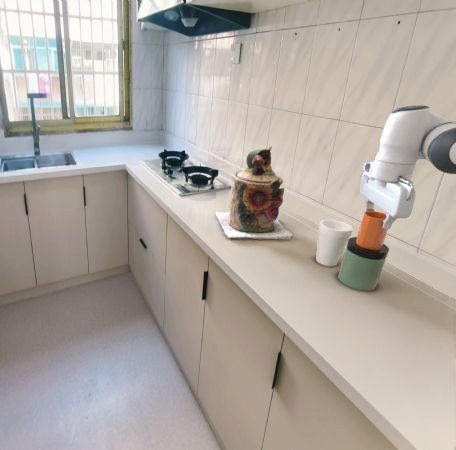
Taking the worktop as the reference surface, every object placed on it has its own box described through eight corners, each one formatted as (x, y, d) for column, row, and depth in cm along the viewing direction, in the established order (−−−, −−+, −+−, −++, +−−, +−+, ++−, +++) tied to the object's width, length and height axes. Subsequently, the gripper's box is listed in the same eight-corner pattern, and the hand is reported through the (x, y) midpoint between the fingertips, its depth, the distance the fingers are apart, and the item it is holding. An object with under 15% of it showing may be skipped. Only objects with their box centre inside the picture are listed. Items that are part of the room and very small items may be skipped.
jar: (366, 273, 105) (377, 240, 100) (382, 292, 96) (395, 256, 91) (332, 270, 106) (342, 237, 101) (345, 289, 96) (356, 253, 92)
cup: (374, 240, 98) (384, 211, 95) (385, 250, 92) (396, 220, 89) (351, 238, 99) (360, 210, 95) (361, 248, 93) (371, 218, 89)
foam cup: (313, 251, 117) (321, 217, 112) (342, 259, 113) (353, 223, 107) (309, 263, 109) (318, 226, 104) (340, 271, 105) (351, 234, 100)
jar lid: (376, 244, 101) (378, 238, 100) (394, 261, 91) (396, 254, 91) (341, 241, 102) (342, 235, 101) (355, 257, 92) (357, 251, 92)
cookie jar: (213, 215, 145) (222, 139, 132) (269, 215, 147) (283, 141, 134) (228, 240, 123) (240, 152, 110) (293, 241, 124) (313, 154, 111)
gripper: (429, 183, 77) (410, 238, 83) (384, 163, 96) (371, 208, 102) (400, 182, 78) (383, 236, 84) (361, 162, 97) (349, 207, 102)
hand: (376, 221), depth 93 cm, fingers open, 8 cm apart
